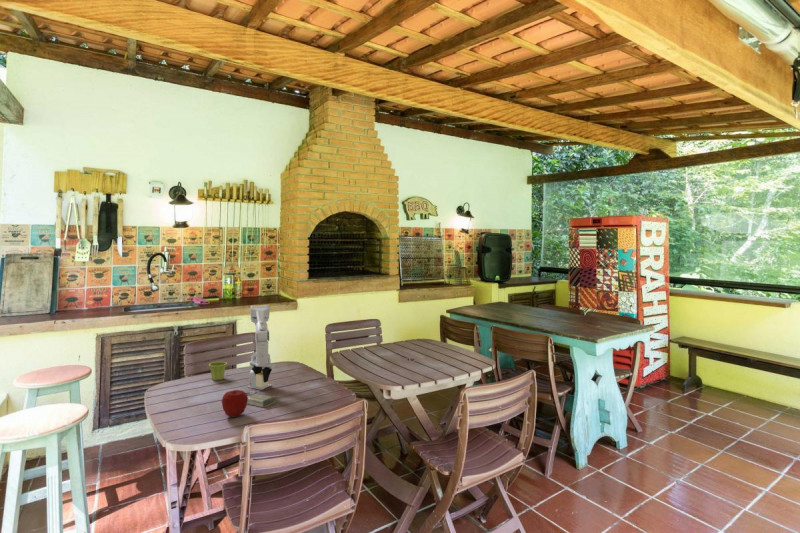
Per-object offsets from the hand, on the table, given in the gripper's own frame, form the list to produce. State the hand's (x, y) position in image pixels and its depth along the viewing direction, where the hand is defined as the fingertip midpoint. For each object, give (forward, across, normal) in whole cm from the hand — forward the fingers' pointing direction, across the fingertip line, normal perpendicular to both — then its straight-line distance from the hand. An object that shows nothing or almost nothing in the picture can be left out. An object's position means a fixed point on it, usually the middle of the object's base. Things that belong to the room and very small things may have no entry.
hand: (262, 381), depth 210 cm
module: (+2, 0, 0) cm, 2 cm away
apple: (+7, +7, -25) cm, 27 cm away
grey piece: (+7, +5, -8) cm, 12 cm away
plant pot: (+8, -41, +10) cm, 43 cm away
